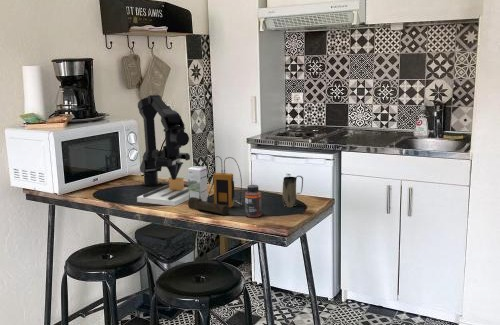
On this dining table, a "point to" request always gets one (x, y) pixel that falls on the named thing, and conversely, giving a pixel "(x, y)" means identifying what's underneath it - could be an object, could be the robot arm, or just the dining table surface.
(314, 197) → the dining table surface
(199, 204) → the hand tool
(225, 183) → the multimeter
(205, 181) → the syrup box
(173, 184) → the lever
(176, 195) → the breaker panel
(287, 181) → the mug
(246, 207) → the supplement bottle
